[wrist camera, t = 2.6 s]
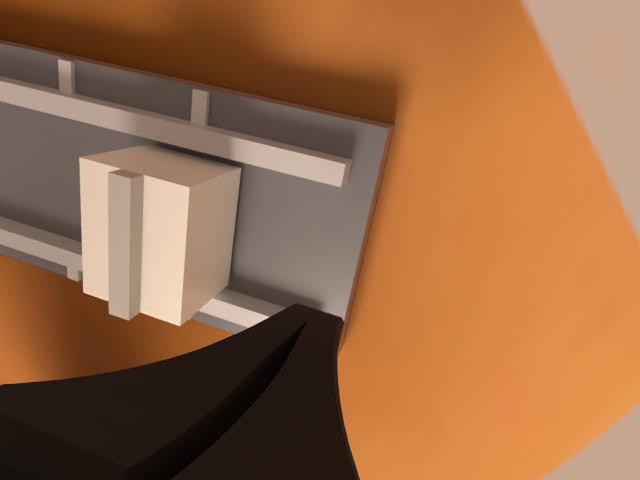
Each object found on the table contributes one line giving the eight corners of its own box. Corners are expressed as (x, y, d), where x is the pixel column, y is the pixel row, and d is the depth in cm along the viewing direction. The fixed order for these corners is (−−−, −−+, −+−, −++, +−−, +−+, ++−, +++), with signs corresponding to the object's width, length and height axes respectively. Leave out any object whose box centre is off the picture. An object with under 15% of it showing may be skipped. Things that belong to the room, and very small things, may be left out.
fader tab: (228, 284, 18) (169, 335, 15) (145, 258, 19) (70, 299, 15) (241, 167, 16) (178, 191, 13) (148, 144, 17) (64, 160, 14)
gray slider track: (341, 348, 20) (326, 382, 18) (-93, 204, 25) (-147, 216, 23) (394, 124, 16) (383, 131, 14) (-128, 11, 21) (-198, 2, 19)
